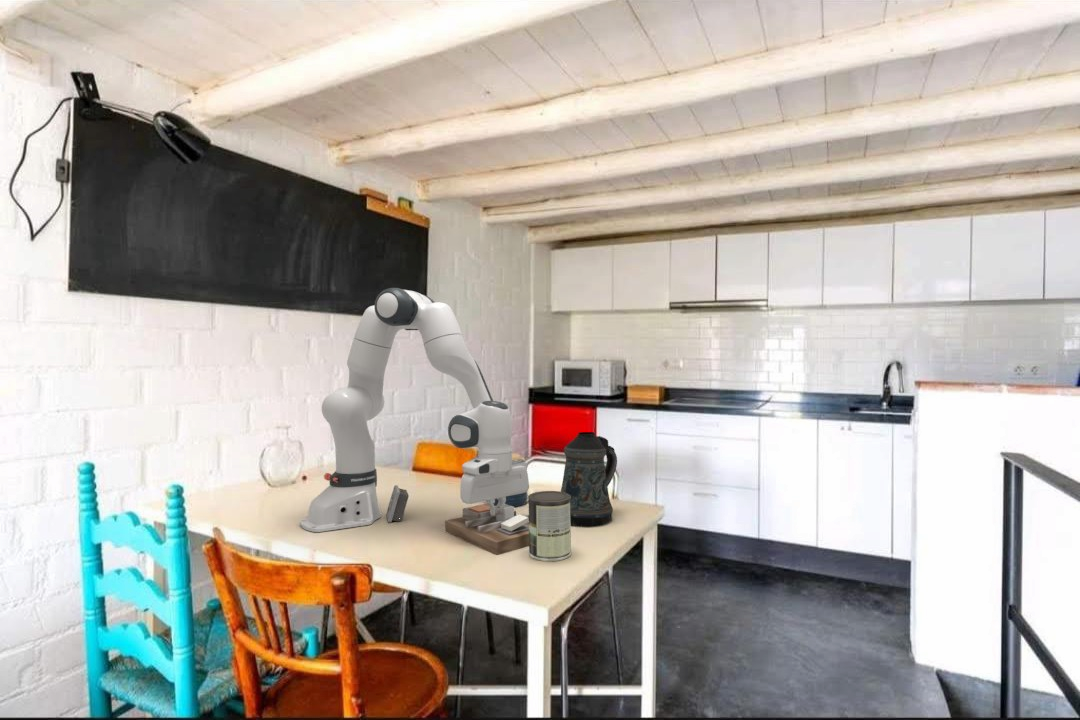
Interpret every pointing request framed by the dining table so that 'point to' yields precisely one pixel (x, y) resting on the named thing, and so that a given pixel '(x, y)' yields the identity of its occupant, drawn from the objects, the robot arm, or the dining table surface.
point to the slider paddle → (505, 513)
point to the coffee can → (549, 525)
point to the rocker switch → (514, 522)
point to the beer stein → (589, 479)
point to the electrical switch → (397, 504)
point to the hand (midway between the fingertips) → (496, 514)
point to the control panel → (488, 531)
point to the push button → (480, 508)
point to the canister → (518, 498)
